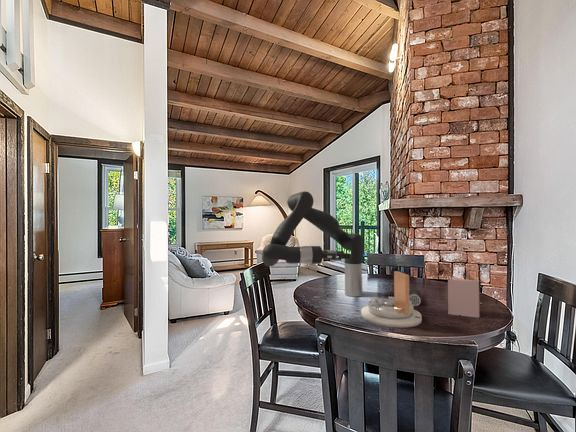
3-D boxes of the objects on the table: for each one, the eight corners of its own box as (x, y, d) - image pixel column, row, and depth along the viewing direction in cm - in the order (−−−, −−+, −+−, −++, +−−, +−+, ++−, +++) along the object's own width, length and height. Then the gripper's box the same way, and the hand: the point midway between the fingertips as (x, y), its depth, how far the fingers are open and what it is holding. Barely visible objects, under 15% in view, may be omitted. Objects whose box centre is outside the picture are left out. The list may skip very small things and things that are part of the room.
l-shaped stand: (361, 306, 133) (361, 266, 133) (399, 304, 135) (399, 264, 135) (385, 324, 111) (384, 276, 111) (429, 321, 113) (429, 274, 113)
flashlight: (409, 297, 156) (409, 287, 156) (420, 298, 154) (420, 287, 154) (408, 305, 142) (408, 294, 142) (420, 306, 140) (420, 295, 140)
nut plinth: (376, 305, 142) (376, 300, 142) (429, 315, 126) (429, 310, 126) (350, 318, 124) (350, 313, 124) (409, 332, 108) (409, 326, 108)
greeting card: (480, 317, 124) (479, 281, 124) (471, 320, 120) (470, 283, 120) (453, 310, 134) (452, 276, 134) (443, 313, 130) (443, 278, 130)
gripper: (313, 247, 118) (352, 247, 120) (306, 244, 132) (341, 244, 134) (313, 266, 118) (352, 266, 120) (306, 261, 132) (341, 261, 134)
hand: (346, 254), depth 127 cm, fingers open, 8 cm apart
